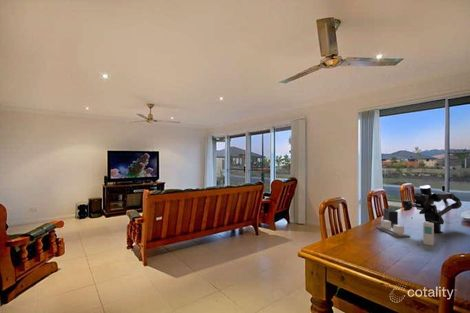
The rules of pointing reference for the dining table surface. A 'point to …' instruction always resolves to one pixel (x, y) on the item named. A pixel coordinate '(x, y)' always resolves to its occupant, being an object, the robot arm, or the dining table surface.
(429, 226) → the block
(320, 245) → the dining table surface
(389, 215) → the small box
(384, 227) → the mounting plate
